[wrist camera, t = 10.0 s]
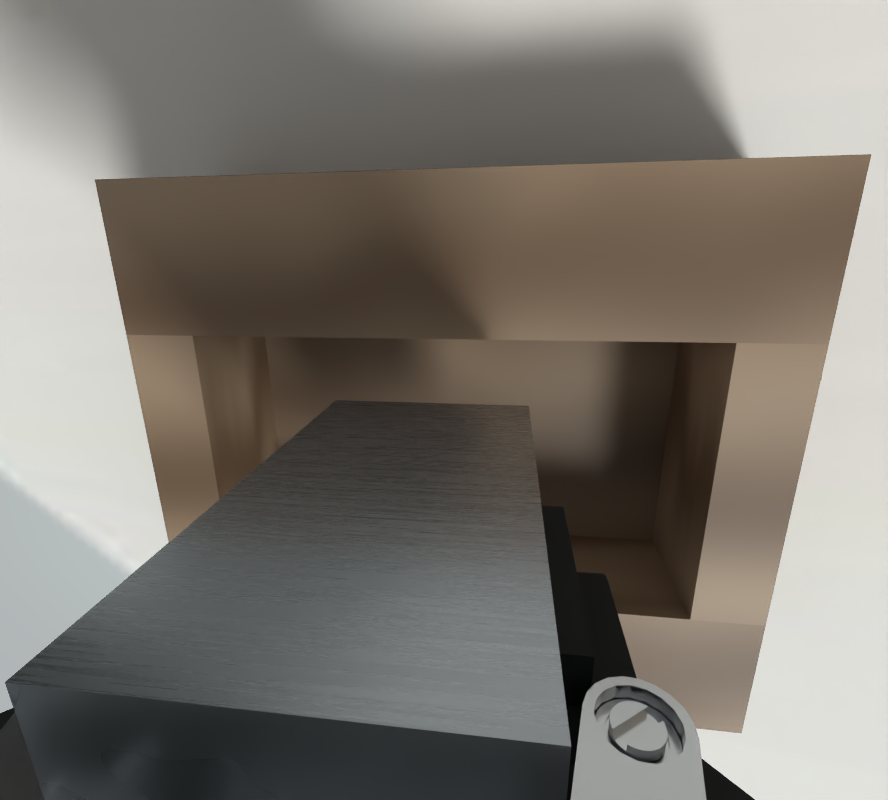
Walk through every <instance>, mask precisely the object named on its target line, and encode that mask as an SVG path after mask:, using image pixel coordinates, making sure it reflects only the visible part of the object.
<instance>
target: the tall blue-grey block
mask: <svg viewBox="0 0 888 800" xmlns="http://www.w3.org/2000/svg"><path fill="white" fill-rule="evenodd" d="M5 684H6V687H7V690H8V693H9V695H10V698H11V702H12V705H13V708H14V711H15V713H16V716H17V719H18V722H19V725H20V728H21V731H22V734H23V737H24V740H25V743H26V746H27V749H28V752H29V755H30V758H31V761H32V764H33V767H34V770H35V773H36V776H37V779H38V782H39V785H40V788H41V791H42V793H43V796H44V799H45V800H567V789H568V778H569V766H570V755H571V741H570V733H569V725H568V716H567V708H566V700H565V692H564V684H563V676H562V668H561V660H560V652H559V644H558V636H557V628H556V620H555V612H554V604H553V595H552V587H551V579H550V571H549V563H548V555H547V547H546V539H545V531H544V523H543V515H542V507H541V499H540V491H539V483H538V474H537V466H536V458H535V450H534V442H533V434H532V426H531V418H530V410H529V406H521V405H486V404H452V403H417V402H382V401H348V400H336V401H334V402H333V403H332V404H331V405H330V406H329V407H327V408H326V409H325V410H324V411H323V412H322V413H320V414H319V415H318V416H317V417H316V418H314V419H313V420H312V421H311V422H310V423H309V424H307V425H306V426H305V427H304V428H303V429H302V430H300V431H299V432H298V433H297V434H296V435H295V436H293V437H292V438H291V439H290V440H289V441H287V442H286V443H285V444H284V445H283V446H282V447H280V448H279V449H278V450H277V451H276V452H275V453H273V454H272V455H271V456H270V457H269V458H268V459H266V460H265V461H264V462H263V463H262V464H261V465H259V466H258V467H257V468H256V469H255V470H253V471H252V472H251V473H250V474H249V475H248V476H246V477H245V478H244V479H243V480H242V481H241V482H239V483H238V484H237V485H236V486H235V487H234V488H232V489H231V490H230V491H229V492H228V493H226V494H225V495H224V496H223V497H222V498H221V499H219V500H218V501H217V502H216V503H215V504H214V505H212V506H211V507H210V508H209V509H208V510H207V511H205V512H204V513H203V514H202V515H201V516H200V517H198V518H197V519H196V520H195V521H194V522H192V523H191V524H190V525H189V526H188V527H187V528H185V529H184V530H183V531H182V532H181V533H180V534H178V535H177V536H176V537H175V538H174V539H173V540H171V541H170V542H169V543H168V544H167V545H165V546H164V547H163V548H162V549H161V550H160V551H158V552H157V553H156V554H155V555H154V556H153V557H151V558H150V559H149V560H148V561H147V562H146V563H144V564H143V565H142V566H141V567H140V568H138V569H137V570H136V571H135V572H134V573H133V574H131V575H130V576H129V577H128V578H127V579H126V580H124V581H123V582H122V583H121V584H120V585H119V586H117V587H116V588H115V589H114V590H113V591H112V592H110V593H109V594H108V595H107V596H106V597H104V598H103V599H102V600H101V601H100V602H99V603H97V604H96V605H95V606H94V607H93V608H92V609H90V610H89V611H88V612H87V613H86V614H85V615H83V616H82V617H81V618H80V619H79V620H77V621H76V622H75V623H74V624H73V625H72V626H71V627H69V628H68V629H67V630H66V631H65V632H63V633H62V634H61V635H60V636H59V637H58V638H56V639H55V640H54V641H53V642H52V643H51V644H49V645H48V646H47V647H46V648H45V649H44V650H42V651H41V652H40V653H39V654H38V655H36V657H34V658H33V659H32V660H31V661H29V662H28V663H27V664H26V665H25V666H24V667H22V668H21V669H20V670H19V671H18V672H16V673H15V674H14V675H13V676H12V677H11V678H10V679H8V680H7V681H6V682H5Z"/></svg>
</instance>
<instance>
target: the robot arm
mask: <svg viewBox="0 0 888 800" xmlns="http://www.w3.org/2000/svg"><path fill="white" fill-rule="evenodd" d="M541 507H542V515H543V523H544V531H545V539H546V547H547V555H548V563H549V571H550V579H551V587H552V595H553V604H554V612H555V620H556V628H557V636H558V644H559V652H560V660H561V668H562V676H563V684H564V692H565V700H566V708H567V716H568V725H569V733H570V741H571V755H570V766H569V778H568V789H567V800H755V799H753V798H752V797H751V796H749V795H748V794H747V793H746V792H744V791H743V790H742V789H740V788H739V787H738V786H736V785H735V784H734V783H733V782H731V781H730V780H729V779H727V778H726V777H725V776H723V775H722V774H721V773H720V772H718V771H717V770H716V769H714V768H713V767H712V766H711V765H709V764H708V763H707V762H705V761H704V760H703V759H701V751H700V743H699V737H698V734H697V731H696V728H695V724H694V722H693V721H692V719H691V718H690V716H689V714H688V713H687V711H686V710H685V708H684V707H683V706H682V705H681V704H680V703H679V702H678V701H677V700H676V699H674V698H673V697H672V696H671V695H670V694H668V693H667V692H665V691H664V690H662V689H661V688H659V687H657V686H656V685H654V684H651V683H649V682H646V681H643V680H641V679H638V678H637V677H636V674H635V671H634V667H633V664H632V660H631V657H630V654H629V650H628V647H627V644H626V640H625V637H624V633H623V630H622V627H621V623H620V620H619V617H618V613H617V610H616V606H615V603H614V600H613V596H612V593H611V590H610V586H609V583H608V580H607V577H606V575H605V574H602V573H588V572H577V570H576V565H575V561H574V556H573V551H572V546H571V541H570V537H569V532H568V527H567V522H566V517H565V512H564V508H563V507H562V506H544V505H541ZM0 800H45V799H44V796H43V793H42V791H41V788H40V785H39V782H38V779H37V776H36V773H35V770H34V767H33V764H32V761H31V758H30V755H29V752H28V749H27V746H26V743H25V740H24V737H23V734H22V731H21V728H20V725H19V722H18V719H17V716H16V713H15V711H14V708H12V709H10V710H7V711H5V712H2V713H0Z"/></svg>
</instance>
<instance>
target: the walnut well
mask: <svg viewBox="0 0 888 800" xmlns="http://www.w3.org/2000/svg"><path fill="white" fill-rule="evenodd" d="M870 158H871V154H868V155H838V156H807V157H776V158H745V159H714V160H684V161H653V162H622V163H591V164H560V165H530V166H499V167H468V168H437V169H406V170H376V171H345V172H314V173H283V174H252V175H221V176H191V177H160V178H129V179H98V180H95V182H96V187H97V192H98V197H99V202H100V207H101V212H102V217H103V222H104V227H105V231H106V236H107V241H108V246H109V251H110V256H111V261H112V266H113V271H114V276H115V281H116V285H117V290H118V295H119V300H120V305H121V310H122V315H123V320H124V325H125V330H126V335H127V339H128V344H129V349H130V354H131V359H132V364H133V369H134V374H135V379H136V384H137V389H138V393H139V398H140V403H141V408H142V413H143V418H144V423H145V428H146V433H147V438H148V443H149V448H150V452H151V457H152V462H153V467H154V472H155V477H156V482H157V487H158V492H159V497H160V502H161V506H162V511H163V516H164V521H165V526H166V531H167V536H168V541H169V542H170V541H171V540H173V539H174V538H175V537H176V536H177V535H178V534H180V533H181V532H182V531H183V530H184V529H185V528H187V527H188V526H189V525H190V524H191V523H192V522H194V521H195V520H196V519H197V518H198V517H200V516H201V515H202V514H203V513H204V512H205V511H207V510H208V509H209V508H210V507H211V506H212V505H214V504H215V503H216V502H217V501H218V500H219V499H221V498H222V497H223V496H224V495H225V494H226V493H228V492H229V491H230V490H231V489H232V488H234V487H235V486H236V485H237V484H238V483H239V482H241V481H242V480H243V479H244V478H245V477H246V476H248V475H249V474H250V473H251V472H252V471H253V470H255V469H256V468H257V467H258V466H259V465H261V464H262V463H263V462H264V461H265V460H266V459H268V458H269V457H270V456H271V455H272V454H273V453H275V452H276V451H277V450H278V449H279V448H280V447H282V446H283V445H284V444H285V443H286V442H287V441H289V440H290V439H291V438H292V437H293V436H295V435H296V434H297V433H298V432H299V431H300V430H302V429H303V428H304V427H305V426H306V425H307V424H309V423H310V422H311V421H312V420H313V419H314V418H316V417H317V416H318V415H319V414H320V413H322V412H323V411H324V410H325V409H326V408H327V407H329V406H330V405H331V404H332V403H333V402H334V401H336V400H348V401H382V402H417V403H452V404H486V405H521V406H529V410H530V418H531V426H532V434H533V442H534V450H535V458H536V466H537V474H538V483H539V491H540V499H541V505H544V506H562V507H563V508H564V512H565V517H566V522H567V527H568V532H569V537H570V541H571V546H572V551H573V556H574V561H575V565H576V570H577V572H588V573H602V574H605V575H606V577H607V580H608V583H609V586H610V590H611V593H612V596H613V600H614V603H615V606H616V610H617V613H618V617H619V620H620V623H621V627H622V630H623V633H624V637H625V640H626V644H627V647H628V650H629V654H630V657H631V660H632V664H633V667H634V671H635V674H636V677H637V678H638V679H641V680H643V681H646V682H649V683H651V684H654V685H656V686H657V687H659V688H661V689H662V690H664V691H665V692H667V693H668V694H670V695H671V696H672V697H673V698H674V699H676V700H677V701H678V702H679V703H680V704H681V705H682V706H683V707H684V708H685V710H686V711H687V713H688V714H689V716H690V718H691V719H692V721H693V722H694V724H695V728H699V729H708V730H717V731H726V732H735V733H742V728H743V724H744V719H745V715H746V710H747V706H748V701H749V697H750V692H751V688H752V684H753V679H754V675H755V670H756V666H757V661H758V657H759V652H760V648H761V643H762V639H763V634H764V630H765V626H766V621H767V617H768V612H769V608H770V603H771V599H772V594H773V590H774V585H775V581H776V577H777V572H778V568H779V563H780V559H781V554H782V550H783V545H784V541H785V536H786V532H787V527H788V523H789V519H790V514H791V510H792V505H793V501H794V496H795V492H796V487H797V483H798V478H799V474H800V470H801V465H802V461H803V456H804V452H805V447H806V443H807V438H808V434H809V429H810V425H811V421H812V416H813V412H814V407H815V403H816V398H817V394H818V389H819V385H820V380H821V376H822V371H823V367H824V363H825V358H826V354H827V349H828V345H829V340H830V336H831V331H832V327H833V322H834V318H835V314H836V309H837V305H838V300H839V296H840V291H841V287H842V282H843V278H844V273H845V269H846V265H847V260H848V256H849V251H850V247H851V242H852V238H853V233H854V229H855V224H856V220H857V215H858V211H859V207H860V202H861V198H862V193H863V189H864V184H865V180H866V175H867V171H868V166H869V162H870Z"/></svg>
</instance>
